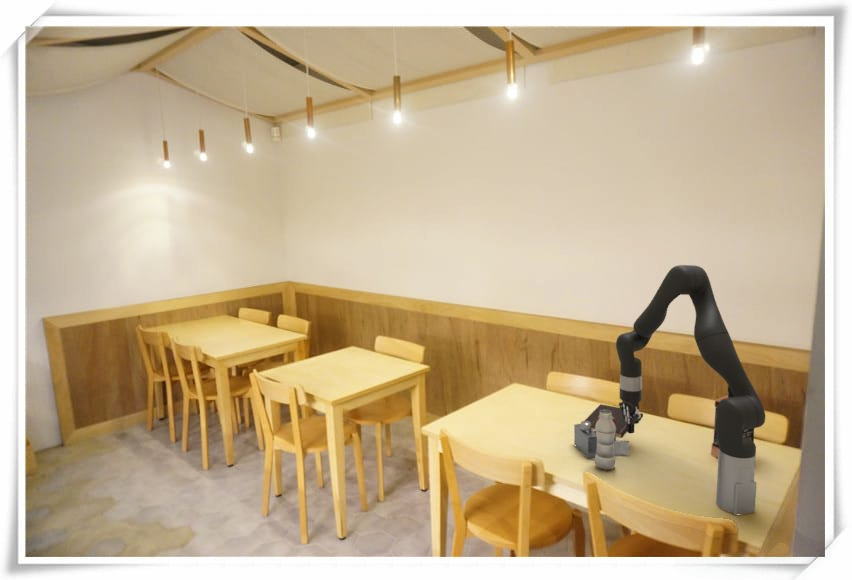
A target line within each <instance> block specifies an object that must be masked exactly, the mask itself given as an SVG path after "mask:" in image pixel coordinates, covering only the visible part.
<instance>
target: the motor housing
mask: <svg viewBox="0 0 852 580" xmlns="http://www.w3.org/2000/svg"><path fill="white" fill-rule="evenodd" d="M573 440H574V444H575V445H576V446H575V445H574V446H575V447H576V448H577V449H578V450H579V451H580V452H581V453H582V455H584V457H585V458H586V457H587V458H588V459H587V458H586V459H587V460H590V459H595V455H596V449H597V435H596V430H592V423H591V422H590V421H585V420H582V421H581V422H580V423H576V424H574V439H573ZM629 448H630V441H629V440H621V439H618V440H617V439H616V441H614V455H615V456H619V455H620V456H629V454H630V453H629V451H630V449H629Z"/></svg>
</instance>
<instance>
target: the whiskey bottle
mask: <svg viewBox="0 0 852 580" xmlns="http://www.w3.org/2000/svg"><path fill="white" fill-rule="evenodd" d="M731 397H734V395H733V393H732V391H731V389H730V387H729V385H728V384H727V394H726V395H724V396H721V397H719V398H716V399H714V407H715V408H714V409H715V412H714V426H713V441H712V443H711V447H710V448H711V449H710V455H711V456H713V457H715V458H717V459H718V455H719V442H718V439H717V422H716V412H717V406H718V403H719V402H720V401H721V400H722V399H725V398H731ZM743 437H745V438H748V439H750V440H751V441H753V442H754V440H755V439H754V438H755V428H752V429H747V430H743ZM754 443H755V442H754Z"/></svg>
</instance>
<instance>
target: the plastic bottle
mask: <svg viewBox="0 0 852 580" xmlns="http://www.w3.org/2000/svg"><path fill="white" fill-rule="evenodd" d="M599 417H600V419H599V420H598V421H597V423H596V425H595V429H596V435H597V449H596V455H595V458H594V463H595V465H596V468H599V469H601V470H604V471H609V470H613V469H614V467H615V466H616V457H615V456H616V455H614V437H615V432H616V426H615V424H614V422H613V421H612V420H611V418H612V416H611V411H609V410H600V415H599Z"/></svg>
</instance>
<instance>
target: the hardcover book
mask: <svg viewBox="0 0 852 580" xmlns="http://www.w3.org/2000/svg"><path fill="white" fill-rule="evenodd" d="M600 410H609V411H611V415H612V416H613V417H614V419H615V421H616V437H619V438H624V436H625V435H626V433H628V432H627V422H626V421H625V419H624V418H623V416H622V413H621V410H620V407H619V406H618V407H617V406H612V405H607V404H601V403H600V404H599V405H598V406H597V408H595V409H594V410H593V412H592V413H590V414H589V415H588V416H587V417H586V418H585V419H584V421H590V422H591V423H592V430H596V429H595V425H596V420H597V418H598V416H599V415H600Z"/></svg>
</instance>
